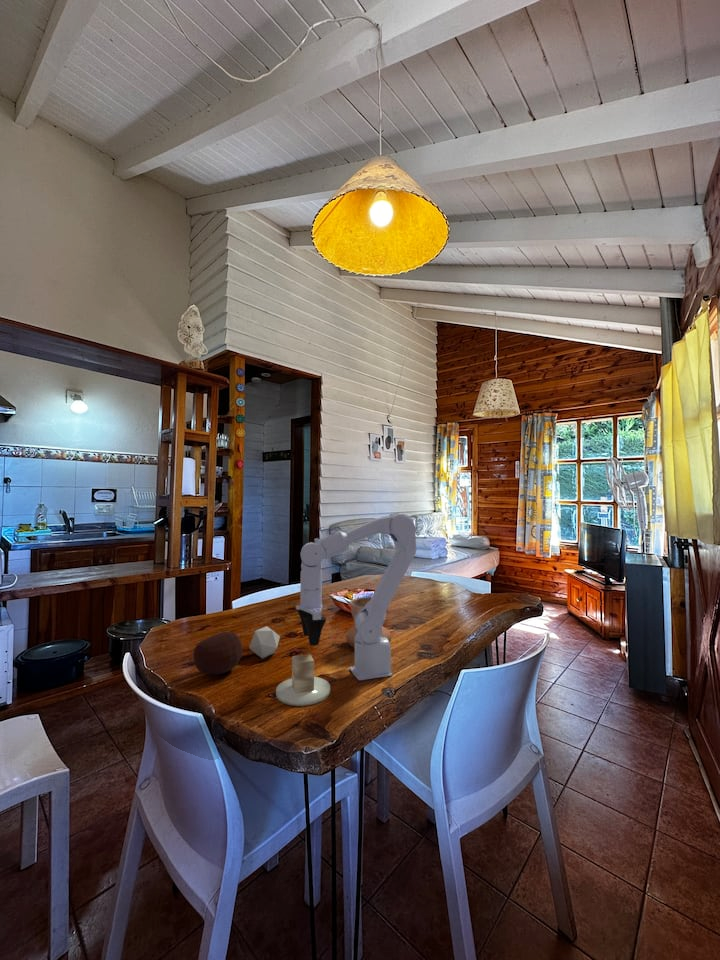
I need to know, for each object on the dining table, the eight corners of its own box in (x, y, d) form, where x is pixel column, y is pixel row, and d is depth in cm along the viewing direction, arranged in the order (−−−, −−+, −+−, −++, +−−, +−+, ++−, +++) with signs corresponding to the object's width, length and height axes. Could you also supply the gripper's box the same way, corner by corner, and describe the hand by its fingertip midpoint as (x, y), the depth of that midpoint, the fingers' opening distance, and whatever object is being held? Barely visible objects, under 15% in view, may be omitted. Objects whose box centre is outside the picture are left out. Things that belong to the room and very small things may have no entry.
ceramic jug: (401, 652, 122) (401, 605, 123) (357, 659, 117) (357, 610, 117) (376, 634, 139) (376, 593, 140) (337, 639, 133) (337, 596, 134)
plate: (323, 677, 105) (323, 673, 105) (336, 700, 93) (336, 696, 93) (272, 684, 101) (272, 680, 101) (279, 709, 88) (280, 705, 89)
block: (309, 682, 100) (310, 653, 100) (313, 690, 95) (314, 660, 96) (291, 685, 98) (292, 656, 99) (295, 693, 94) (295, 663, 94)
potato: (185, 675, 106) (186, 635, 107) (230, 660, 116) (231, 624, 117) (204, 688, 99) (205, 645, 99) (251, 671, 108) (252, 632, 109)
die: (282, 659, 118) (286, 627, 124) (261, 652, 113) (266, 618, 119) (263, 664, 122) (267, 632, 128) (241, 657, 116) (247, 624, 123)
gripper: (291, 583, 112) (291, 633, 111) (301, 595, 98) (301, 651, 98) (316, 582, 114) (316, 630, 114) (329, 593, 101) (328, 648, 100)
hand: (310, 640), depth 106 cm, fingers open, 7 cm apart
